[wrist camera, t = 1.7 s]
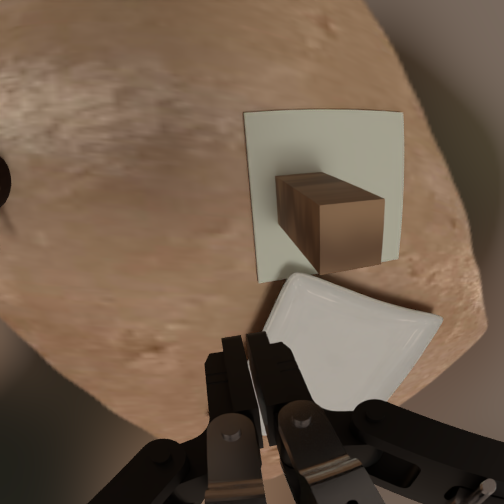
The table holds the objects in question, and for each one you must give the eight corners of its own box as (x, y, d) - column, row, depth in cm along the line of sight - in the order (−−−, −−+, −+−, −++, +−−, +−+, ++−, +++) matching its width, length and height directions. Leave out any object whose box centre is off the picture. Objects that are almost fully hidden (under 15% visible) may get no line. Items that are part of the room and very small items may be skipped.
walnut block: (274, 175, 31) (319, 205, 20) (322, 171, 32) (385, 198, 21) (277, 223, 33) (319, 275, 22) (323, 218, 33) (380, 264, 23)
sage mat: (243, 113, 29) (244, 112, 28) (400, 112, 31) (403, 112, 30) (257, 280, 36) (258, 283, 35) (395, 257, 38) (398, 258, 37)
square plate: (282, 256, 36) (292, 271, 32) (433, 306, 43) (447, 319, 40) (206, 413, 43) (208, 432, 40) (348, 424, 51) (355, 439, 48)
